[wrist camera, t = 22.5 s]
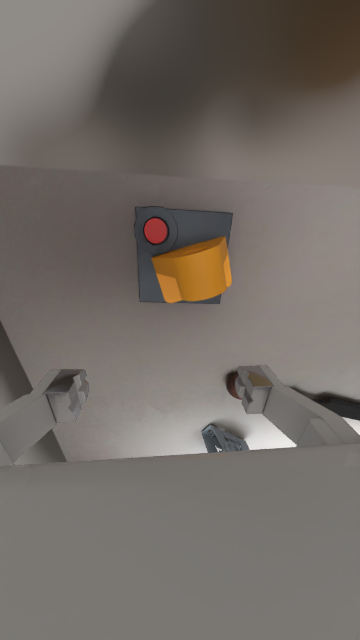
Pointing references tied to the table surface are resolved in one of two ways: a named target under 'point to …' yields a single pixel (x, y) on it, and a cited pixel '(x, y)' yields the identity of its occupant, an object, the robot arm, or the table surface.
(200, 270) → the bracket
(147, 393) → the table surface
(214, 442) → the bracket
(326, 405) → the chisel
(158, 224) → the button
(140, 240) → the scale
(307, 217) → the table surface
